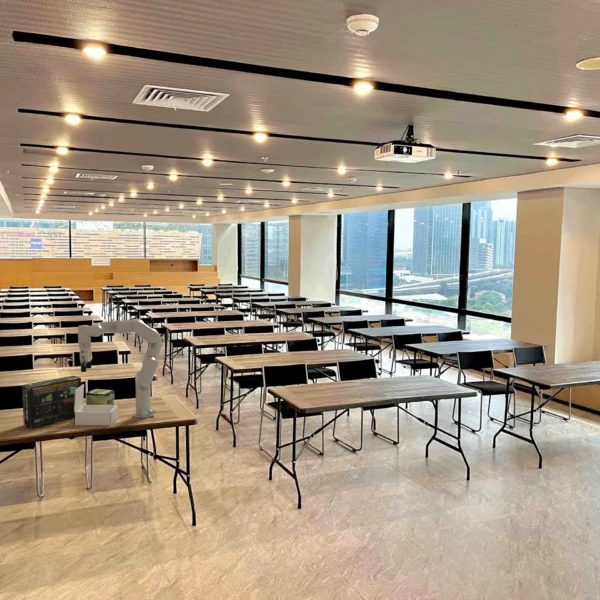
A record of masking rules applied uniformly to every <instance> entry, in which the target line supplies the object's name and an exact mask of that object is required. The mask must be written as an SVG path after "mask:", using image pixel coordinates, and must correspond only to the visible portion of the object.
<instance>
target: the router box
mask: <svg viewBox="0 0 600 600" xmlns="http://www.w3.org/2000/svg"><path fill="white" fill-rule="evenodd" d="M80 386H82V378H81V377H79V376H75V375H70V376H65V377H60V378H59V377H58V378H53V379H48V380H41V381H37V382H31V383H26V384H22V385H21V391H22V392H21V393H22V394H21V395H22V411H23V412H22V414H23V415H22V417H23V426H24V427H25V428H27V429H31V430H32V429H36V428H40V427H45V426H49V425H53V424H57V423H61V422H65V421H70V420H73V419H74V420H75V412H76V411H77V410H76V411H75V412H74V403H75V394H70V387H76V388H79V387H80Z"/></svg>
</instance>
